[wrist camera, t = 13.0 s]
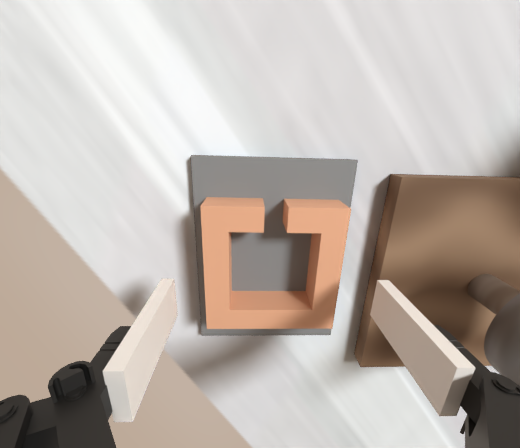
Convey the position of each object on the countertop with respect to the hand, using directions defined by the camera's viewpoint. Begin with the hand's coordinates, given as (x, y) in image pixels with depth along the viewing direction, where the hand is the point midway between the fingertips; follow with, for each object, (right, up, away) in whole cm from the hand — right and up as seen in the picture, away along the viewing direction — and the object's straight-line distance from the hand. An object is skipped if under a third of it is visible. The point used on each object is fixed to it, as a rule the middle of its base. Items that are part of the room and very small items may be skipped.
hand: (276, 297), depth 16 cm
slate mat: (0, +2, +5) cm, 5 cm away
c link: (0, +2, +4) cm, 5 cm away
